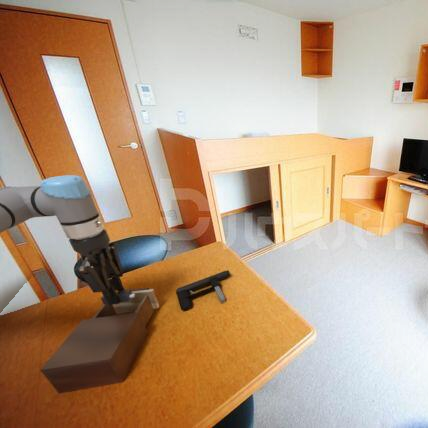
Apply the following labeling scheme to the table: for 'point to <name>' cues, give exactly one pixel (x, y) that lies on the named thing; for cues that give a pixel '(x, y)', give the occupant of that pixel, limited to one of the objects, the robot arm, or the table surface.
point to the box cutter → (121, 296)
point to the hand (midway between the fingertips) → (117, 299)
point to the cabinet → (96, 353)
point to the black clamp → (215, 286)
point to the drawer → (133, 305)
